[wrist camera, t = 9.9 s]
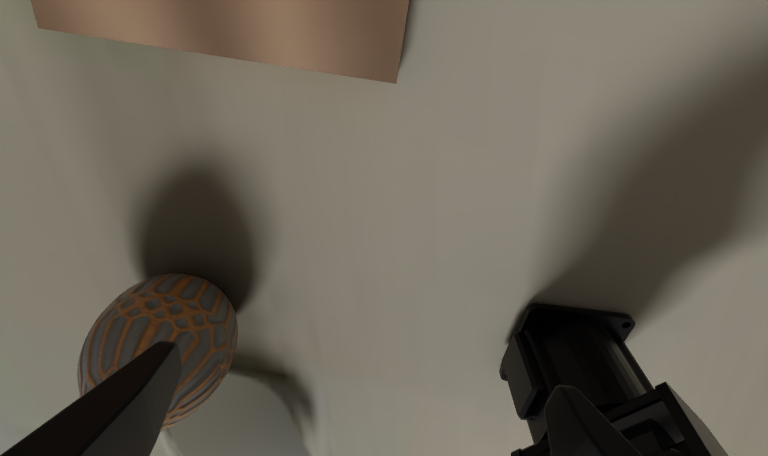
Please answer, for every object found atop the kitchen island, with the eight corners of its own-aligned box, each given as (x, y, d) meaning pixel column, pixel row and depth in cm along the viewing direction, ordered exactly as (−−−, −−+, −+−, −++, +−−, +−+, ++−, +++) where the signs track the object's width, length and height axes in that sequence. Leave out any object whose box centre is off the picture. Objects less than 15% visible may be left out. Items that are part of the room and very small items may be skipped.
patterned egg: (136, 328, 26) (31, 470, 18) (132, 241, 22) (0, 373, 15) (245, 350, 27) (188, 494, 19) (258, 269, 23) (194, 407, 16)
